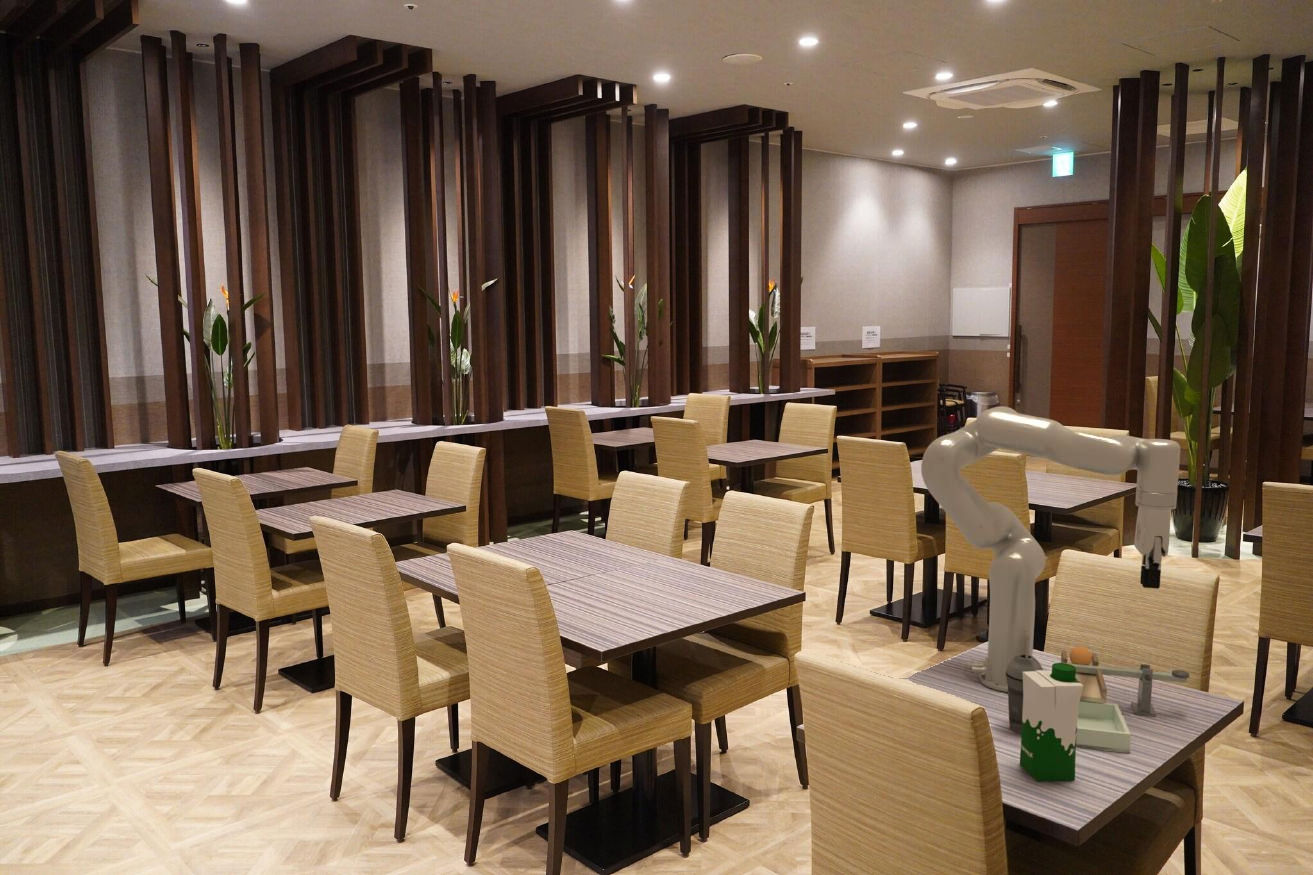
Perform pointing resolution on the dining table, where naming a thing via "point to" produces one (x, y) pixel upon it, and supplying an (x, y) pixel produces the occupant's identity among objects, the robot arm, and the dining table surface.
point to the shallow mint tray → (1102, 727)
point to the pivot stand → (1144, 693)
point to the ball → (1080, 656)
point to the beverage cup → (1018, 686)
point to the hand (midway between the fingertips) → (1149, 585)
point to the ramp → (1090, 681)
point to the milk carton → (1050, 722)
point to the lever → (1133, 673)
